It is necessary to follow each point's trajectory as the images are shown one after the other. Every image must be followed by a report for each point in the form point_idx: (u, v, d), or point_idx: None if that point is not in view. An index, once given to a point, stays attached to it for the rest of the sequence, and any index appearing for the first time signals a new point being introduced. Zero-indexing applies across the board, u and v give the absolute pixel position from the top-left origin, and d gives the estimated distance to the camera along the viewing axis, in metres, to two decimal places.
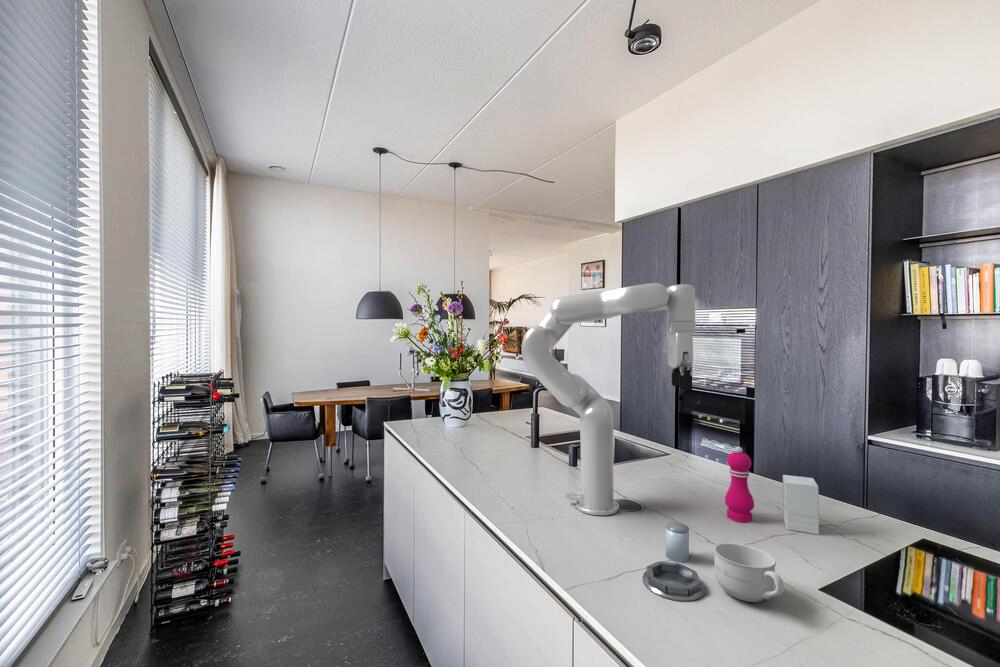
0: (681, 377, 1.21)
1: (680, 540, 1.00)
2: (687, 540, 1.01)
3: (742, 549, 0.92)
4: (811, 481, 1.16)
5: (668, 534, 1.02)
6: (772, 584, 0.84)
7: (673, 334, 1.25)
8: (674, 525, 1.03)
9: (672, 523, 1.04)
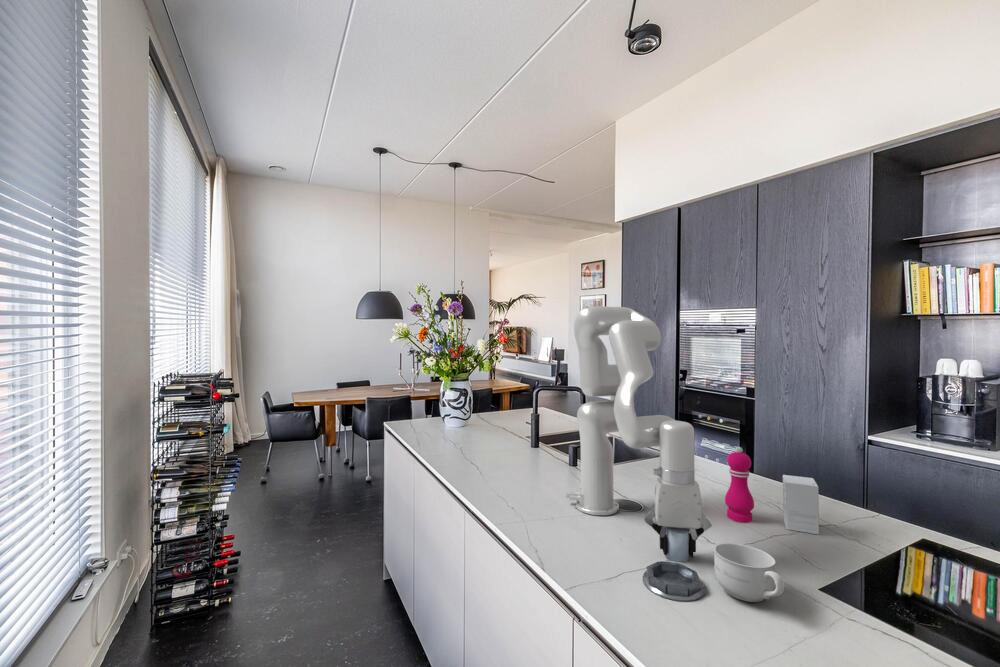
0: (692, 542, 1.01)
1: (680, 540, 1.00)
2: (687, 540, 1.01)
3: (742, 549, 0.92)
4: (811, 481, 1.16)
5: (668, 534, 1.02)
6: (772, 584, 0.84)
7: (689, 487, 1.00)
8: None
9: None
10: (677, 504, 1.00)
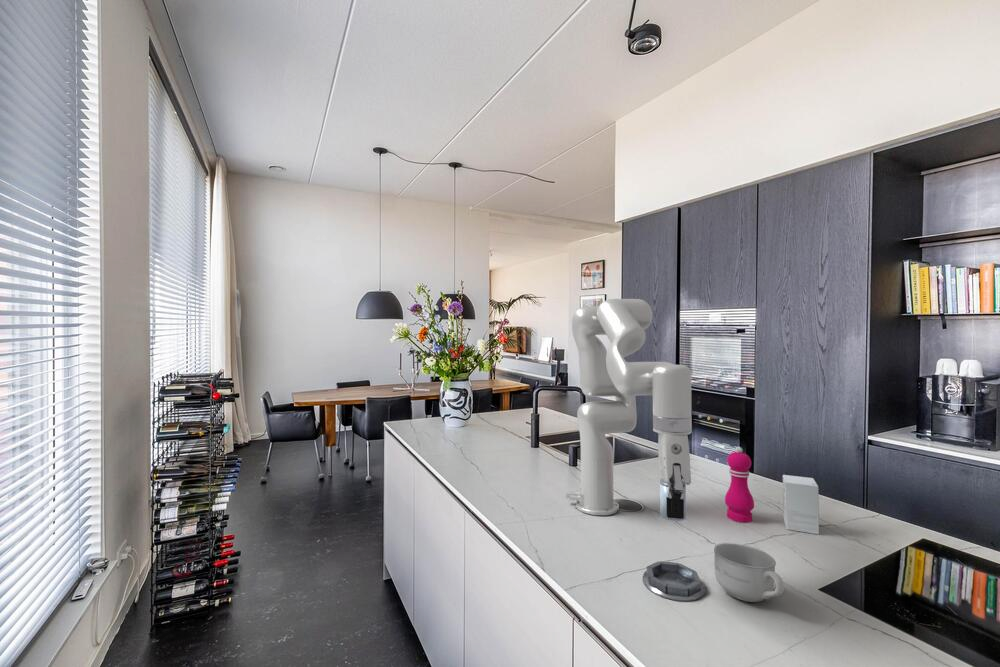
0: None
1: None
2: None
3: (742, 549, 0.92)
4: (811, 481, 1.16)
5: None
6: (772, 584, 0.84)
7: None
8: None
9: (665, 482, 0.91)
10: None
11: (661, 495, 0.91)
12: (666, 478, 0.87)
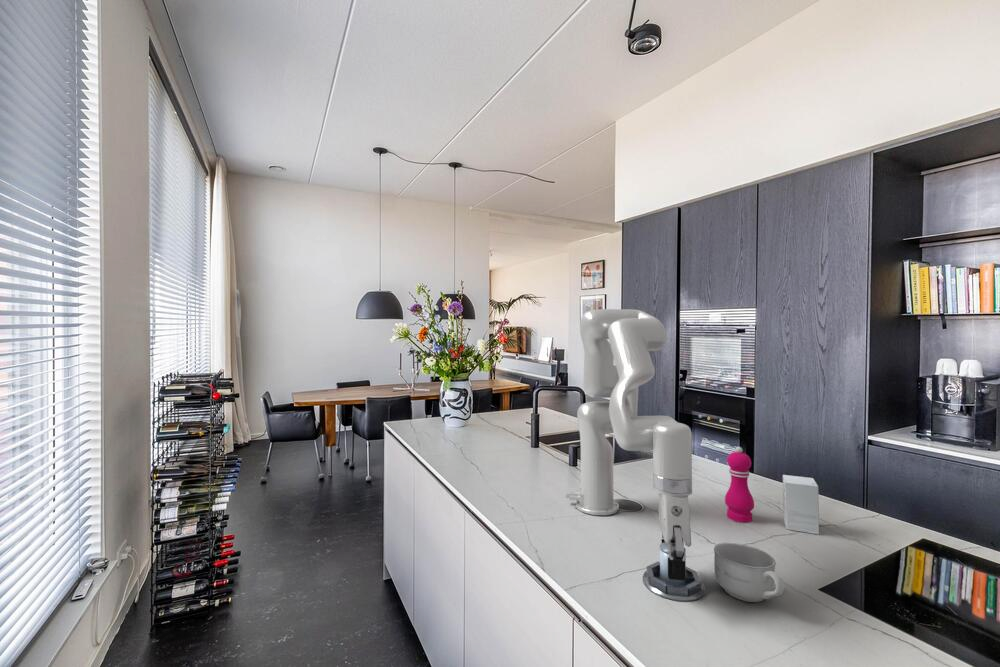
0: None
1: None
2: None
3: (742, 548, 0.92)
4: (811, 481, 1.16)
5: None
6: (772, 584, 0.84)
7: None
8: None
9: (665, 548, 0.91)
10: None
11: (661, 561, 0.91)
12: (666, 540, 0.87)
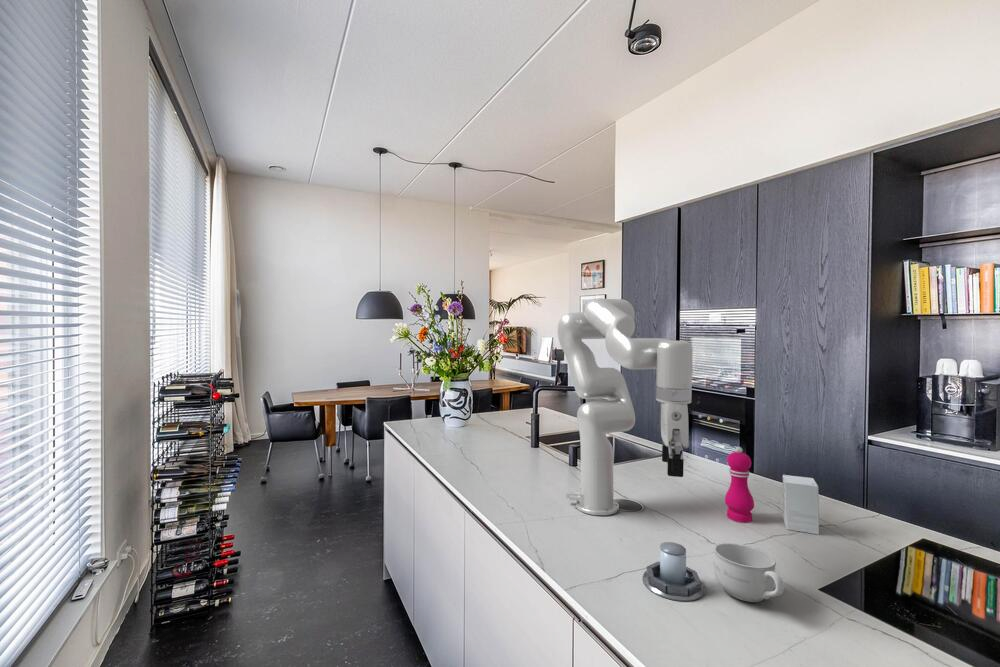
0: None
1: None
2: None
3: (742, 548, 0.92)
4: (811, 481, 1.16)
5: (681, 560, 0.89)
6: (772, 584, 0.84)
7: None
8: (669, 548, 0.91)
9: (665, 548, 0.91)
10: None
11: (661, 561, 0.91)
12: (666, 442, 0.97)
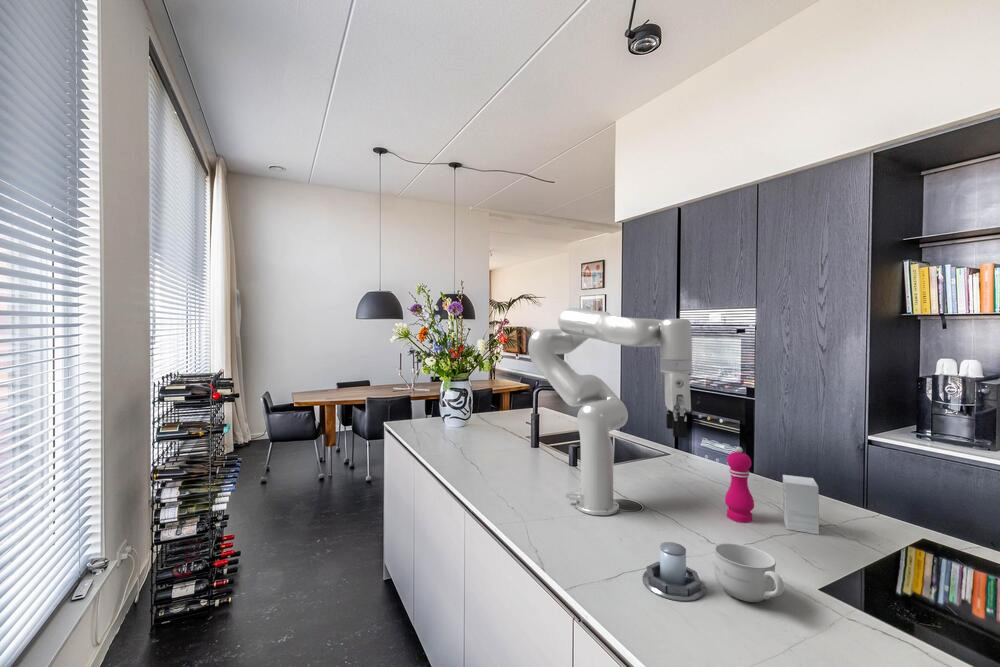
0: None
1: None
2: None
3: (742, 549, 0.92)
4: (811, 481, 1.16)
5: (681, 560, 0.89)
6: (772, 584, 0.84)
7: None
8: (669, 548, 0.91)
9: (665, 548, 0.91)
10: None
11: (661, 561, 0.91)
12: (671, 407, 1.10)
